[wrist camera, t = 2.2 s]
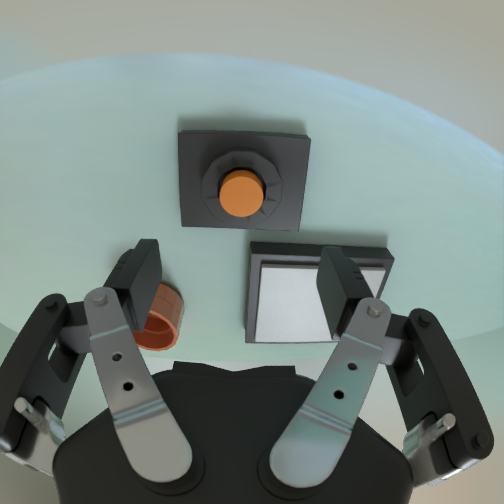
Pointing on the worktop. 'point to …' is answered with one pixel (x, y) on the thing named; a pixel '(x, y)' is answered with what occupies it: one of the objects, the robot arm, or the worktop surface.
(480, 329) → the worktop surface
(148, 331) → the copper cup
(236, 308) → the worktop surface
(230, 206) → the tare button
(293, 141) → the block
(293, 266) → the scale
